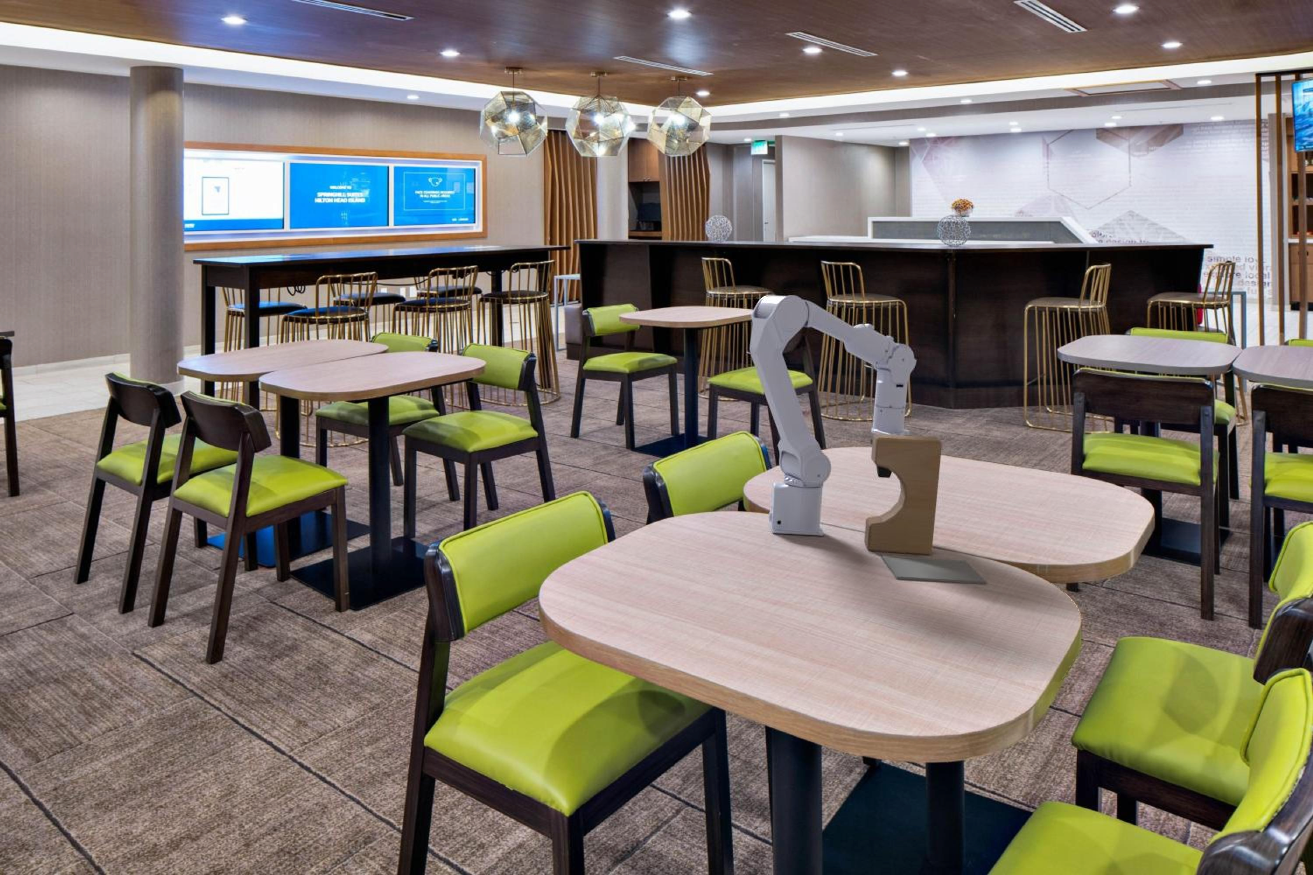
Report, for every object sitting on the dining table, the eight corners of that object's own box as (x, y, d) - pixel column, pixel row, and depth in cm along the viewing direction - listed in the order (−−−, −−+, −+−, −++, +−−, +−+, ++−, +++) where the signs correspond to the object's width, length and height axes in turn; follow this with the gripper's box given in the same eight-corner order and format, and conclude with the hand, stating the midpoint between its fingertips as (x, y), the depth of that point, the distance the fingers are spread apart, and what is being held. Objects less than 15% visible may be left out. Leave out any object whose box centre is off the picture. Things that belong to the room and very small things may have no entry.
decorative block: (866, 551, 164) (876, 437, 161) (863, 542, 170) (872, 433, 167) (932, 556, 163) (942, 441, 160) (926, 547, 169) (937, 437, 166)
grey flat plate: (896, 578, 148) (896, 576, 148) (881, 558, 160) (881, 555, 160) (986, 584, 148) (986, 581, 148) (964, 562, 160) (965, 560, 160)
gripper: (920, 412, 171) (913, 485, 173) (902, 403, 186) (896, 471, 188) (881, 410, 172) (875, 483, 174) (866, 401, 186) (861, 469, 188)
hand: (883, 477), depth 181 cm, fingers closed
